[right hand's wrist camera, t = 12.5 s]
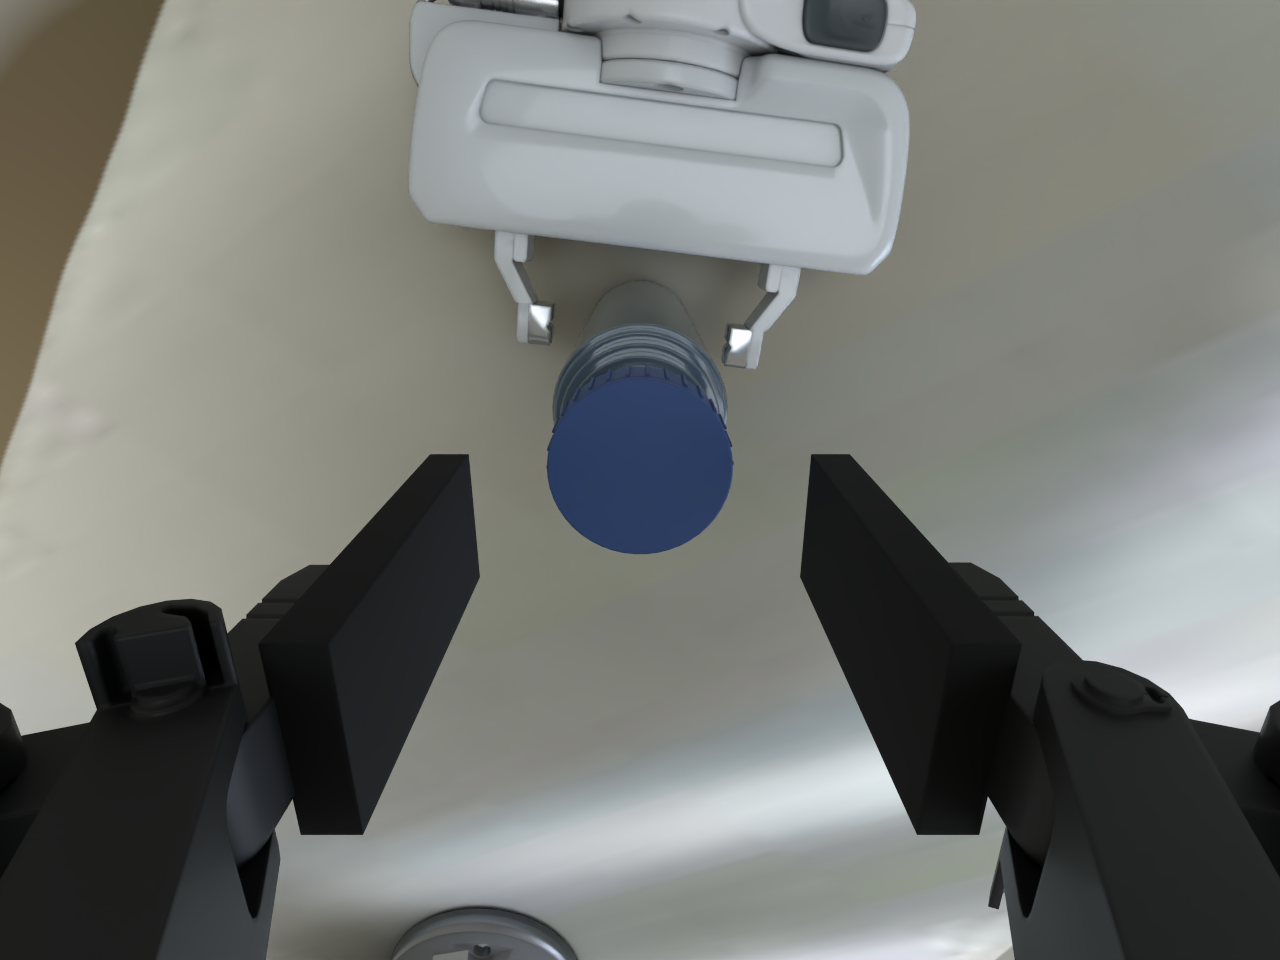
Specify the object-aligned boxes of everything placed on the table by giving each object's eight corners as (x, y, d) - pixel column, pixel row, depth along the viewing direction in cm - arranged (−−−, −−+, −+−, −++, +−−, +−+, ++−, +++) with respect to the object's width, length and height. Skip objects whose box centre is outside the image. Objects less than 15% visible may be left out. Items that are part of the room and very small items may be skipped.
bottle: (679, 390, 39) (723, 581, 18) (582, 372, 38) (514, 546, 18) (700, 291, 37) (777, 377, 16) (598, 271, 37) (544, 332, 16)
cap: (706, 542, 19) (712, 570, 18) (541, 514, 19) (532, 540, 17) (745, 381, 18) (756, 396, 16) (566, 348, 17) (559, 359, 16)
